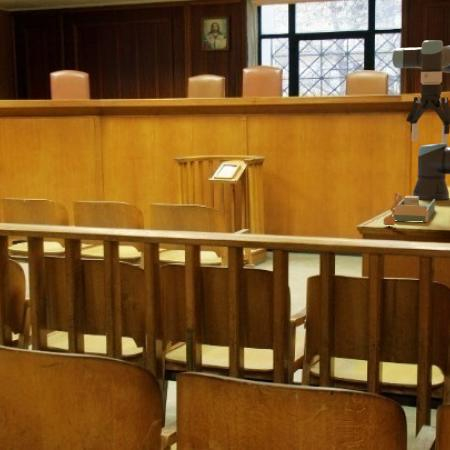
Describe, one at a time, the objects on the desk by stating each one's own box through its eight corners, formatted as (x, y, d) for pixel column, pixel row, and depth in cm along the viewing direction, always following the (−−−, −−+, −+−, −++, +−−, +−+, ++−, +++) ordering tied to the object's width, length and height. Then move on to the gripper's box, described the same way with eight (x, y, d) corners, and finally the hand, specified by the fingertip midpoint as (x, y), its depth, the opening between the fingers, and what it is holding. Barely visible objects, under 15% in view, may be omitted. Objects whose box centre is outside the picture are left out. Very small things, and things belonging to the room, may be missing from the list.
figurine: (385, 224, 268) (386, 190, 266) (402, 225, 266) (404, 190, 264) (381, 228, 261) (382, 193, 259) (399, 229, 259) (400, 193, 256)
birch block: (405, 204, 299) (405, 195, 299) (418, 204, 298) (419, 196, 297) (403, 205, 295) (404, 197, 294) (417, 206, 293) (417, 197, 293)
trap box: (404, 209, 302) (404, 194, 301) (434, 210, 298) (435, 195, 297) (393, 221, 275) (393, 204, 274) (426, 223, 271) (427, 206, 270)
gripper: (397, 84, 292) (396, 140, 296) (452, 83, 272) (450, 144, 276) (411, 83, 296) (409, 139, 300) (466, 83, 276) (463, 143, 280)
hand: (429, 142), depth 288 cm, fingers open, 13 cm apart
